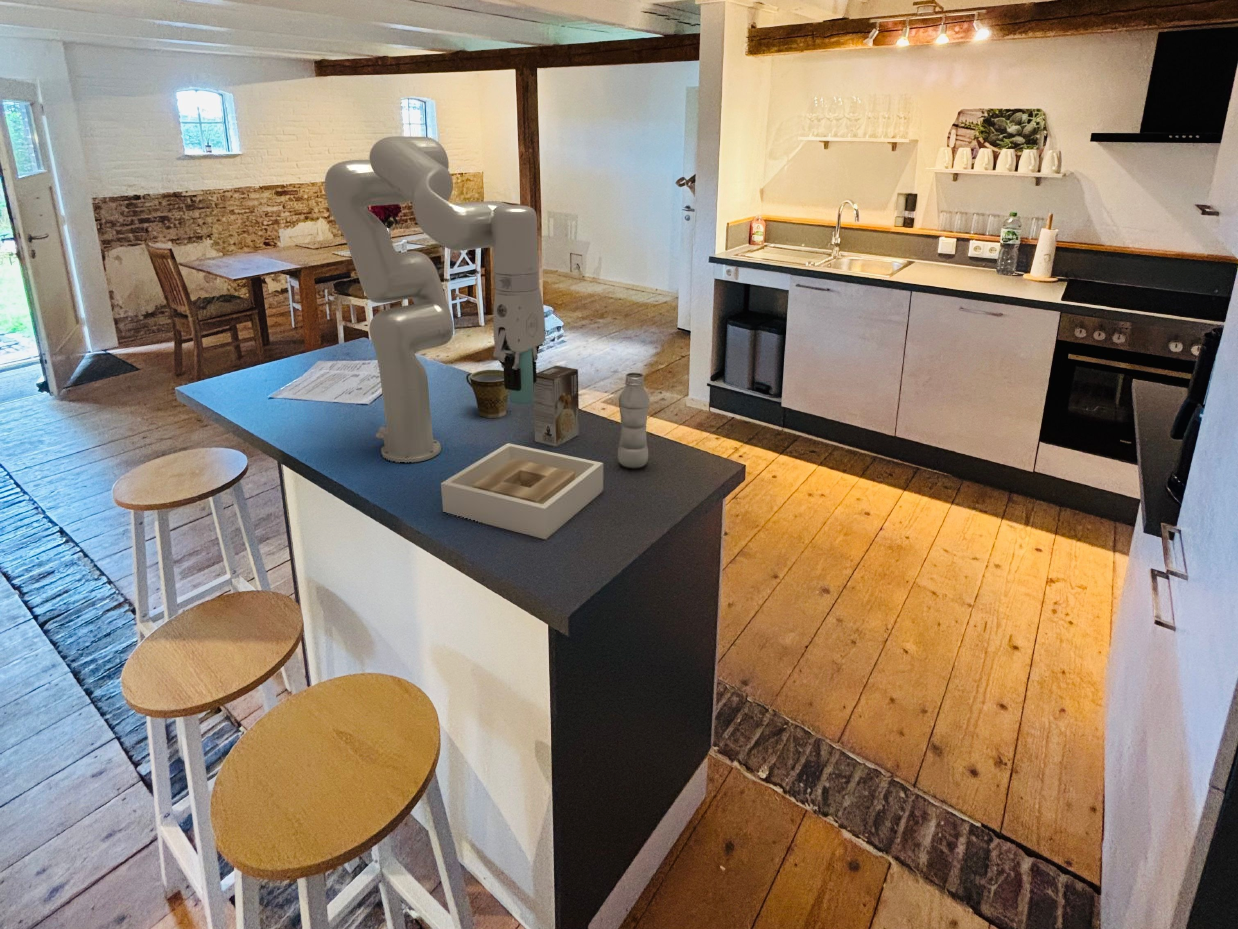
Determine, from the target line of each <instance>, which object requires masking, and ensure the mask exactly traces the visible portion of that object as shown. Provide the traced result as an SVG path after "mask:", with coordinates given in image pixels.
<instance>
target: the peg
mask: <svg viewBox="0 0 1238 929" xmlns="http://www.w3.org/2000/svg"><path fill="white" fill-rule="evenodd" d="M508 350H510V348H509V347H508ZM508 356H509V357H510V358H511V359H513V354H508ZM518 368H519V369H521V390H520V391H514V390H509V393H508V400H509V402H510V403H511V404H517V405H524V404H525V405H526V404H529V403H532V402H534V390H533V361H532V349H530V350H527V351H525V352H523V353H519V363H518Z"/></svg>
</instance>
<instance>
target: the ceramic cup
mask: <svg viewBox="0 0 1238 929" xmlns="http://www.w3.org/2000/svg"><path fill="white" fill-rule="evenodd" d="M465 376H466V377H465V379H466V382H467V384H468V385H469V386H470V387H471V388H472V391H473V394H474V397H475V400H476V401H475V402H476V404H477V410H478V413H479V416H480V417H481V416H483V418H485V417H486V418H485V419H498V418H501V417H505V416H506V415H507V409H508V407H507V406H508V400H509V390H508V389H505V387H504V370H501V369H485V370H483V369H482V370H478V371H475V372H470V373H467V374H466V375H465Z"/></svg>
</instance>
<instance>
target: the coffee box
mask: <svg viewBox="0 0 1238 929" xmlns="http://www.w3.org/2000/svg"><path fill="white" fill-rule="evenodd" d="M536 373H537V382H536V383H533V390H534V401H533V418H534V420H533V421H534V422H533V423H534V441H535V442H537V443H540V444H545V445H548V446H551V447H556V448H557V447H559V446H561V445H562V444H565V443H566V442H568V441H570V440H572V439H573V438H576V437H577V436H579V435H580V419H579V418H580V417H579V414H580V413H579V412H580V411H579V410H580V407H579V402H580V401H579V400H580V399H579V369H578V368H572V367H567V366H562V365H553V366H550V367H549V368H545V369H543V370H541V371H538V372H536Z"/></svg>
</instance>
